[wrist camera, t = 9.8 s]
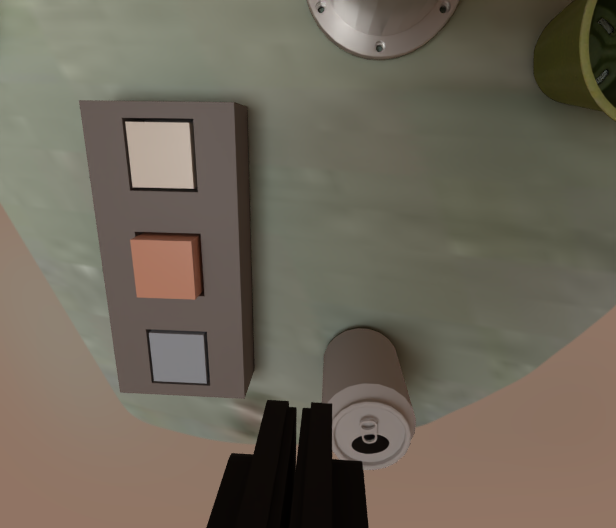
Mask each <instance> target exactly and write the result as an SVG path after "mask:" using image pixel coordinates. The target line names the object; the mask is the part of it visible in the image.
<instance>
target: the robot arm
mask: <svg viewBox="0 0 616 528" xmlns="http://www.w3.org/2000/svg"><path fill="white" fill-rule="evenodd" d="M459 1H460V0H307V3H308V6H309V9H310V12H311V14H312V16H313V18H314V20H315V22H316V23H317V25H318V27H319V28H320V29H321V31H322V32H323V33H324V34H325V35H326V37H327V38H328V39H329V40H330V41H332V42H333V43H334V44H335V45H336V46H338V47H339V48H340V49H342V50H344V51H346V52H348V53H350V54H352V55H354V56H358V57H361V58H365V59H374V60H385V59H392V58H397V57H400V56H403V55H406V54H408V53H411V52H413V51H414V50H416V49H418V48H419V47H421V46H423V45H424V44H426V43H427V42H428V41H429V40H430V39H432V38H433V37H434V36H435V35H436V34H437V33H438V32H439V31H440V30H441V29H442V27H443V26H444V25H445V24H446V23H447V22H448V20H449V19H450V17H451V16H452V14H453V13H454V11H455V10H456V7H457V5H458V3H459ZM320 7H322V8H324V12H323V13H319V12H318V9H319V8H320ZM441 7H443V8H444V9H445V13H441V12H440V10H439V9H440V8H441ZM377 46H381V47H382V51H381V52H377V51H376V47H377ZM206 528H368V518H367V506H366V495H365V484H364V473H363V464H362V461H353V460H336V459H332V403H314V402H311V408H303V410H302V419H301V428H300V437H299V446H298V456H297V464H296V407H289V402H288V401H276V400H267V403H266V406H265V410H264V414H263V418H262V422H261V426H260V430H259V434H258V438H257V442H256V446H255V451H254V454H253V455H251V454H235V453H232V454H231V455H230V457H229V460H228V463H227V466H226V469H225V472H224V475H223V478H222V481H221V484H220V487H219V490H218V494H217V497H216V500H215V503H214V506H213V509H212V512H211V515H210V518H209V521H208V524H207V527H206Z"/></svg>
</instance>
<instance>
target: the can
mask: <svg viewBox="0 0 616 528" xmlns="http://www.w3.org/2000/svg"><path fill="white" fill-rule="evenodd" d="M322 403H332V451H333V452H334V453H335V454H336V456H337V457H338V458H339V459H340V460H353V461H362V464H363V470H376V469H381V468H386V467H388V466H390V465H392V464H394V463H396V462H397V461H398V460H399V459H401V458H402V457H403V456H404V455H405V453H406V452H407V450H408V448H409V446H410V441H411V439H412V437H413V435H414V433H415V426H416V418H415V415H414V411H413V407H412V404H411V401H410V397H409V394H408V390H407V387H406V384H405V380H404V377H403V373H402V370H401V367H400V363H399V360H398V356H397V353H396V349H395V347H394V346H393V345H392V343H391V342H390V340H389V339H388V338H386V337H385V336H384V335H382V334H381V333H379V332H376V331H373V330H370V329H360V328H356V329H352V330H348V331H344V332H343V333H341V334H339V335H338V336H336V337H335V338H334V339H333V340H332V341H331V342H330V343H329V345H328V346H327V349H326V351H325V354H324V364H323V389H322Z"/></svg>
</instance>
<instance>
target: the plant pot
mask: <svg viewBox="0 0 616 528" xmlns="http://www.w3.org/2000/svg"><path fill="white" fill-rule="evenodd" d="M601 18H604V19H605V20H606V21H608V22H609V24H611V25H612V27H613V28H614V32H613V33H611V34H608V32H607V30H606V29H605V28H604V27H603V26H602V25H601V24H599V23H598V21H599V20H600V19H601ZM606 69H607V70H608V75H607V77H606V78H605V79H604V80H603V81H602V82H601V83H600V84H597V82H596V79H597V78H598V77H599V76H600V75H601V74H602V73H603V72H604V71H605V70H606ZM534 77H535V80H536V82H537V84H538V86H539V87H540V89H541V90H542V92H543V93H544V94H546V95H547V96H548V97H550V98H551V99H553V100H555V101H558V102H561V103H565V104H570V105H574V106H579V107H584V108H589V109H594V110H598V111H603V112H604V113H605V114H606V115H607V116H609V117H610V118H611V119H613V120H614V121H616V0H574V1H573V2H572V3H571V4H570V5H568V6H567V7H566V8H565V9H564V10H563V11H562V12H561V13H559V14H558V15H557V16H556V17H555V18H554V19H553V20H552V21H551V22H550V23H549V24H548V25H547V26H546V28H545V29H544V30H543V32H542V34H541V35H540V37H539V39H538V42H537V44H536V46H535V50H534Z"/></svg>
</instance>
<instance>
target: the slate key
mask: <svg viewBox="0 0 616 528" xmlns="http://www.w3.org/2000/svg"><path fill="white" fill-rule="evenodd" d="M149 339H150V348H151V357H152V366H153V375H154V381H163V382H184V383H205V384H207V382H208V380H209V378H210V373H209V358H208V342H207V332H201V331H177V330H151V331H150V332H149Z"/></svg>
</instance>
